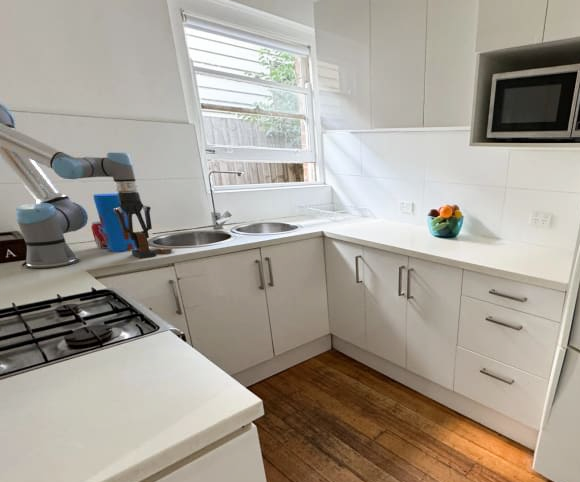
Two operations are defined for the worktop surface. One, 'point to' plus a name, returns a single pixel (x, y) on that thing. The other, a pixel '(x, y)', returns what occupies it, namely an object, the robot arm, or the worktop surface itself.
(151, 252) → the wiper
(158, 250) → the cork chip
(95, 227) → the soda can
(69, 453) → the worktop surface
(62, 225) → the robot arm
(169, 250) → the cork chip
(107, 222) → the thermos
